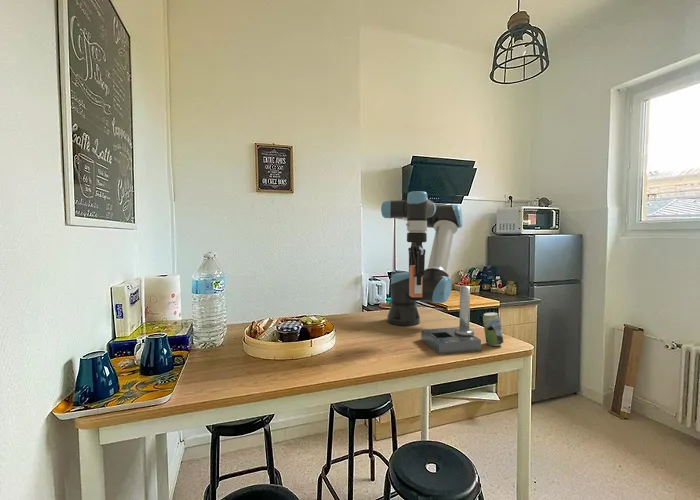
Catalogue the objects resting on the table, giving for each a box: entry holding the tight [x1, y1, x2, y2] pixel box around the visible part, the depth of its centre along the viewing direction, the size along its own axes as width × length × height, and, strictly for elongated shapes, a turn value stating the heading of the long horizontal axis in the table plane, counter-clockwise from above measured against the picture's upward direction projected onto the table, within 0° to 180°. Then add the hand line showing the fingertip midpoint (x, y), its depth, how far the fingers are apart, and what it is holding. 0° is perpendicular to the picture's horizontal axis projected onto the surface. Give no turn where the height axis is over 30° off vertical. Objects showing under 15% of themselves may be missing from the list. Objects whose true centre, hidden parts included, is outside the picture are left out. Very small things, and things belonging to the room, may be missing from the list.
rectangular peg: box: [408, 265, 423, 298], centre depth 135 cm, size 4×4×12 cm
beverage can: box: [482, 311, 504, 347], centre depth 131 cm, size 6×7×12 cm
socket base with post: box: [420, 285, 482, 355], centre depth 130 cm, size 16×18×22 cm
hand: (415, 292), depth 135 cm, fingers closed on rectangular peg, 4 cm apart
